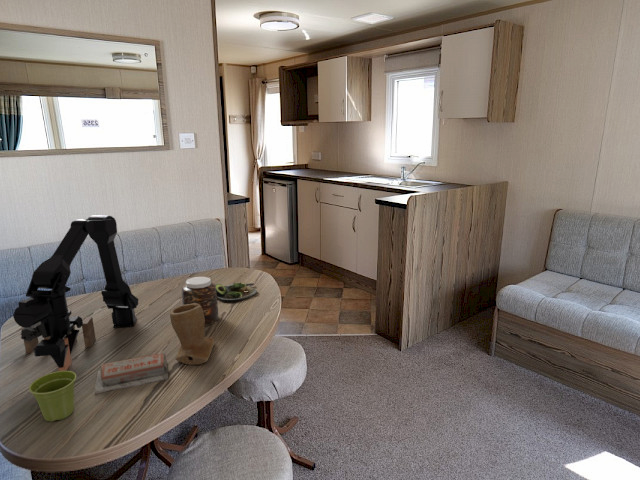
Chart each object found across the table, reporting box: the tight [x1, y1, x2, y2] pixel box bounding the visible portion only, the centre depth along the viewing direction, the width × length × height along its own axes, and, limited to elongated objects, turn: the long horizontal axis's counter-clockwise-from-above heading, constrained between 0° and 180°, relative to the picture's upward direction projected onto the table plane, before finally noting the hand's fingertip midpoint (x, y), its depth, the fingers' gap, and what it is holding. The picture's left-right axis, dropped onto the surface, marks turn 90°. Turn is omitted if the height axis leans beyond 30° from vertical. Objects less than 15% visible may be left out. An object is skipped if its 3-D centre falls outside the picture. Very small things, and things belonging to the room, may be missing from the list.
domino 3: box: [81, 316, 97, 348], centre depth 132 cm, size 2×5×8 cm, turn 12°
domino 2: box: [57, 338, 73, 371], centre depth 118 cm, size 2×5×8 cm, turn 12°
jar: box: [181, 276, 219, 327], centre depth 147 cm, size 12×12×15 cm
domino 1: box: [20, 327, 40, 354], centre depth 129 cm, size 2×5×8 cm, turn 12°
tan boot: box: [169, 303, 215, 366], centre depth 124 cm, size 15×12×15 cm
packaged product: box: [93, 352, 169, 395], centre depth 114 cm, size 18×5×10 cm
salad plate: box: [215, 282, 258, 303], centre depth 174 cm, size 19×18×5 cm
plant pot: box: [28, 370, 77, 422], centre depth 98 cm, size 9×9×9 cm
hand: (64, 362), depth 119 cm, fingers closed on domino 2, 5 cm apart
